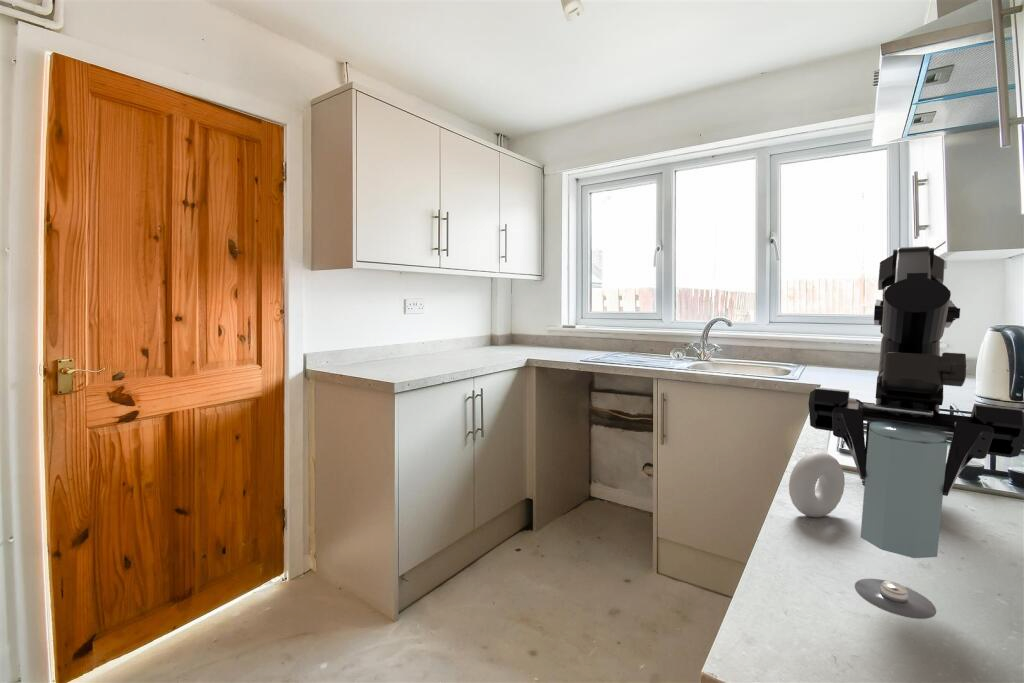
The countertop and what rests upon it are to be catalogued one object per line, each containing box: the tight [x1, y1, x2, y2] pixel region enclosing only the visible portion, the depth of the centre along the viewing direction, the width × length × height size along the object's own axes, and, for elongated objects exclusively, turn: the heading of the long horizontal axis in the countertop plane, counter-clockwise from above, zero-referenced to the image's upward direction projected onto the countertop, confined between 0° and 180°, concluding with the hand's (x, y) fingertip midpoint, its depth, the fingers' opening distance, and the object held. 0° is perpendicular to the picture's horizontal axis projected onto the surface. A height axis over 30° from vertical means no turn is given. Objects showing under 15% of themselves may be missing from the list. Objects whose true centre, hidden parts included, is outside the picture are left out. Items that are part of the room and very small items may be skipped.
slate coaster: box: [854, 578, 937, 619], centre depth 53 cm, size 7×7×1 cm
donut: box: [788, 451, 846, 518], centre depth 73 cm, size 10×3×10 cm, turn 112°
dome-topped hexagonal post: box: [860, 421, 949, 559], centre depth 52 cm, size 6×6×13 cm
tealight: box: [880, 580, 908, 604], centre depth 53 cm, size 2×2×1 cm
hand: (902, 485), depth 51 cm, fingers closed on dome-topped hexagonal post, 6 cm apart
